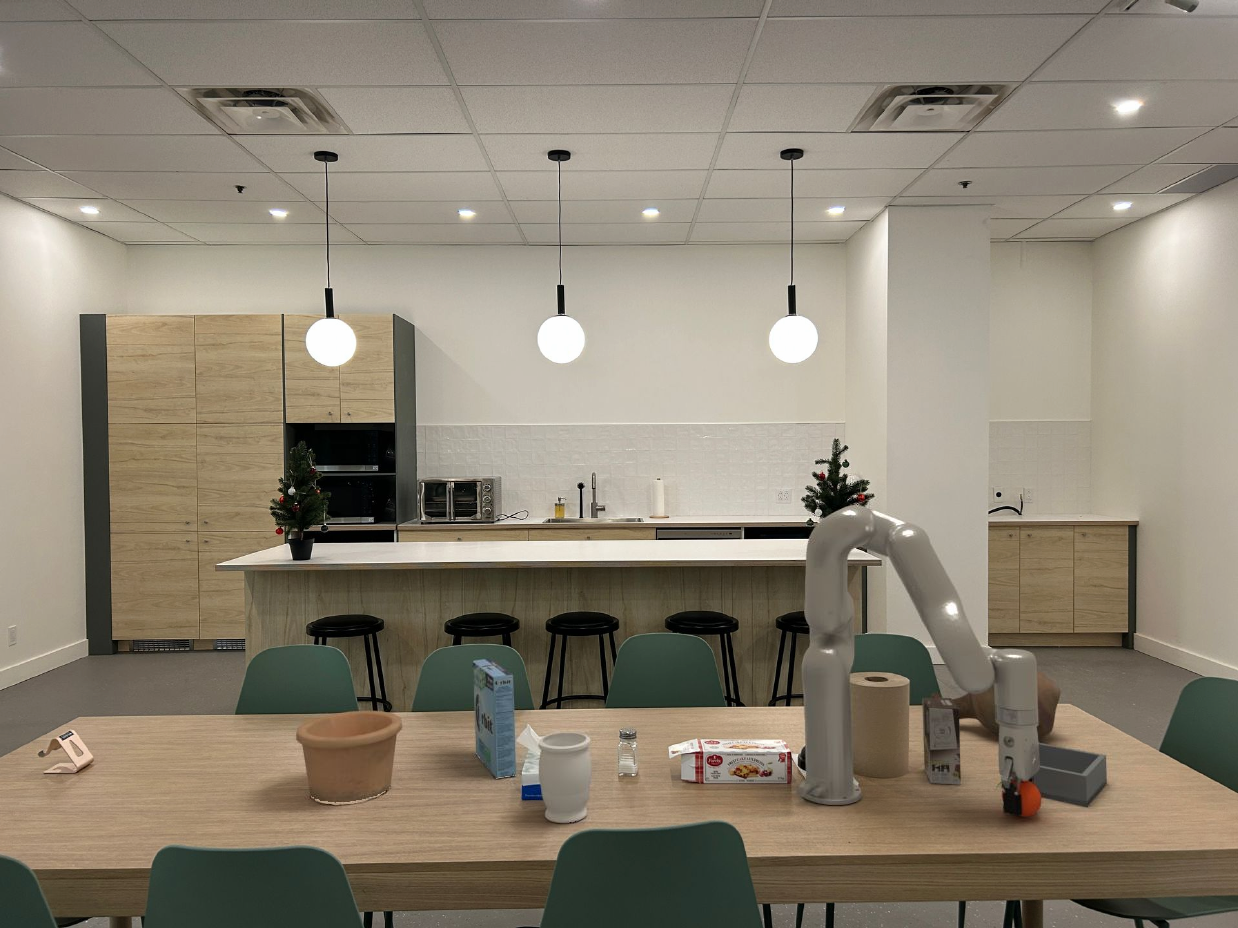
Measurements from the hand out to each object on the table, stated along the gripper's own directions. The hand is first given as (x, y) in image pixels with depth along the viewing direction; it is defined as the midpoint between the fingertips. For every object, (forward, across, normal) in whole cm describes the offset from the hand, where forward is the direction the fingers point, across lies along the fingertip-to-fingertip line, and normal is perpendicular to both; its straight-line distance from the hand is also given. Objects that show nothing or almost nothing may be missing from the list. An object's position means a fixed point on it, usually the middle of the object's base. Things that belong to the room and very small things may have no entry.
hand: (1019, 807), depth 163 cm
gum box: (+1, -45, +102) cm, 112 cm away
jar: (+1, -55, +68) cm, 88 cm away
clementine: (+2, 0, 0) cm, 2 cm away
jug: (+2, +48, +20) cm, 53 cm away
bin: (+1, +20, -1) cm, 20 cm away
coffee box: (+2, +11, +19) cm, 22 cm away
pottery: (+1, -75, +114) cm, 137 cm away
